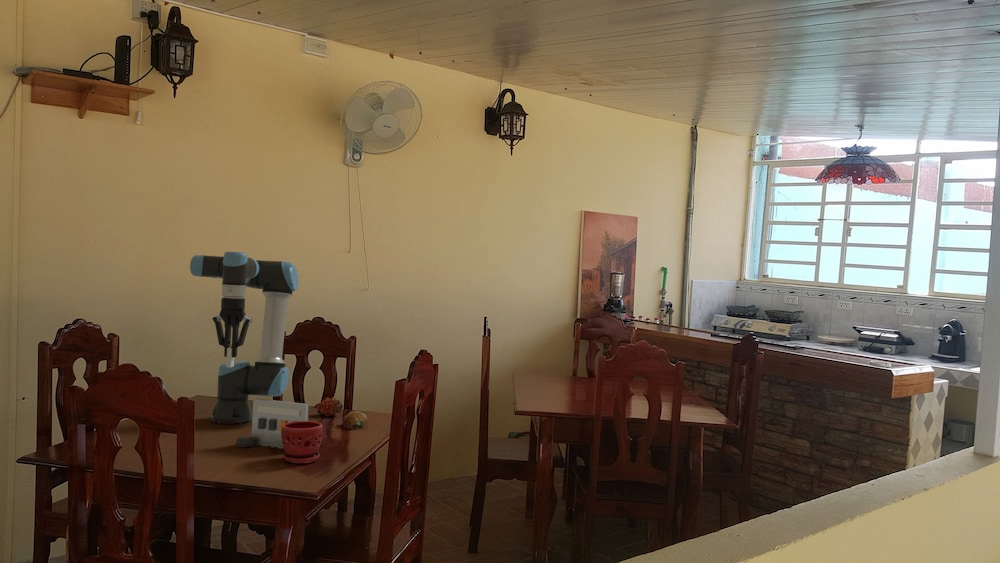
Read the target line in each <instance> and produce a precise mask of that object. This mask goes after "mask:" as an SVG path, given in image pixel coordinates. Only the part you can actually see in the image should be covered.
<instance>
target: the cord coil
mask: <svg viewBox="0 0 1000 563" xmlns="http://www.w3.org/2000/svg"><path fill="white" fill-rule="evenodd" d="M251 437H252V436H247V435H246V436H238V437H237V438H236V443H235V446H237V447H236V448H239V447H243V448H242V449H245V448H244V447H250V448H253V447H252V446H254V447H255V446H256V445H255V438H251Z"/></svg>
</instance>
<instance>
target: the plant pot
mask: <svg viewBox="0 0 1000 563" xmlns="http://www.w3.org/2000/svg"><path fill="white" fill-rule="evenodd" d="M323 428H324V427H323V423H321V422H318V421H310V420H309V421H296V422H289V423H285V424H283V425H282V430H281V436H282V444H283V448H284V449H283V448H282V449H283V450H284V452H285V453H283V456H282V457H283V458H284V461H286V462H288V463H291V464H308V463H309V464H310V463H314V462H315V461H317V460H318V459H319V458H320V452H319V449H320V446H321V443H322V440H323V437H322V436H323ZM286 437H287V438H286Z"/></svg>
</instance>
